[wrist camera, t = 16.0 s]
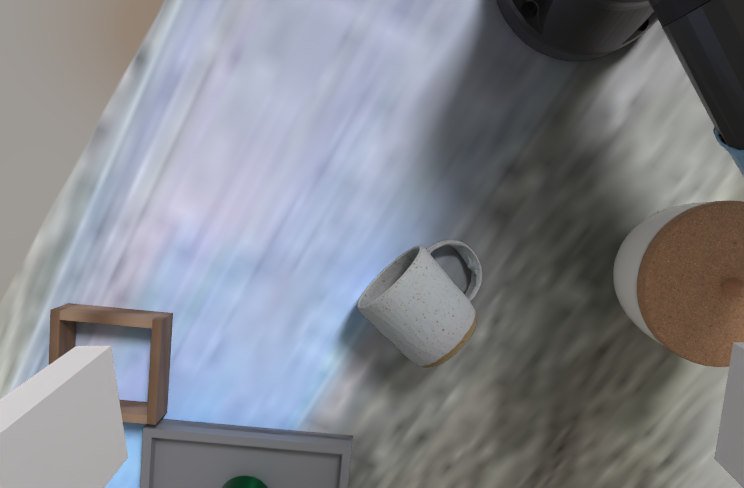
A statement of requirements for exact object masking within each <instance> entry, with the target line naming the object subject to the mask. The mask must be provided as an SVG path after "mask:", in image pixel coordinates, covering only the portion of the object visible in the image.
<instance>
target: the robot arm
mask: <svg viewBox="0 0 744 488" xmlns="http://www.w3.org/2000/svg"><path fill="white" fill-rule="evenodd" d="M497 1H498V4H499V7H500V9H501V12H502V14H503V16H504V18H505V19H506V21H507V23H508V24H509V26H510V27H511V28H512V30H513V31H514V32H515V33H516V34H517V35H518V36H519V37H520V38H521V39H522V40H523V41H524V42H525V43H526V44H528V45H529V46H531V47H532V48H534V49H535V50H537V51H539V52H541V53H543V54H545V55H548V56H550V57H554V58H557V59H562V60H570V61H583V60H591V59H596V58H600V57H603V56H606V55H608V54H611V53H613V52H615V51H617V50H619V49H620V48H622V47H624V46H626V45H627V44H629V43H631V42H633V41H634V40H636V39H637V38H638V37H640V36H641V35H642V34H644V33H645V32H646V31H647V30H648V29H649V28H650V27H651V26H652V25H653V24H654V23H655V22H656V21H657V20H659V21H660V23H661V25H662V26H663V27H662V28H663V30H664V32H665V34H666V36H667V38H668V40H669V42H670V43H671V45H672V47H673V49H674V51H675V53H676V55H677V57H678V58H679V60H680V62H681V64H682V66H683V68H684V70H685V72H686V74H687V75H688V77H689V79H690V81H691V83H692V85H693V87H694V89H695V90H696V92H697V94H698V96H699V98H700V100H701V102H702V104H703V105H704V107H705V109H706V111H707V113H708V115H709V117H710V119H711V120H712V122H713V124H714V126H715V127H714V130H713V131H714V134H715V137H716V139H717V141H718V142H719V144H720V145H721V146H723V147H724V148H725V149H726V150H727V151H728V152H729V153H730V155H731V157H732V158H733V160H734V162H735V163H736V165H737V167H738V168H739V170H740V171H741V173H742V175H743V176H744V0H497ZM127 458H128V454H127V447H126V441H125V434H124V428H123V421H122V415H121V408H120V402H119V395H118V388H117V382H116V375H115V369H114V362H113V356H112V349H111V346H76V347H74V348H73V349H71V350H70V351H68V352H67V353H66V354H64V355H63V356H61V357H60V358H58V359H57V360H56V361H54V362H53V363H51V364H50V365H48V366H47V367H46V368H44V369H43V370H41V371H40V372H38V373H37V374H36V375H34V376H33V377H31V378H30V379H29V380H27V381H26V382H24V383H23V384H21V385H20V386H19V387H17V388H16V389H14V390H13V391H11V392H10V393H9V394H7V395H6V396H4V397H3V398H1V399H0V488H104V487H105V486H106V485H107V484H108V482H109V481H110V480H111V478H112V477H113V476H114V475H115V473H116V472H117V471H118V470H119V468H120V467H121V466H122V464H123V463H124V462H125V461H126V459H127ZM714 459H715V460H716V461H717V462H718V463H719V464H720V465H721V466H722V467H723V468H724V469H725V470H726V471H727V472H728V473H729V474H730V475H731V476H732V477H733V478H734V479H735V480H736V481H737V482H738V483H739V484H740V485H741V486H742V487H743V488H744V342H738V343H733V347H732V353H731V360H730V366H729V372H728V378H727V384H726V390H725V397H724V403H723V409H722V415H721V421H720V427H719V434H718V440H717V446H716V452H715V458H714Z"/></svg>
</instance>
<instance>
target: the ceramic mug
mask: <svg viewBox="0 0 744 488" xmlns="http://www.w3.org/2000/svg"><path fill="white" fill-rule="evenodd" d="M445 245H448V246H451V247H453V248H455V249H456V250H457V251H458V253H459V254H460V255H461V257H462V258H463V259H464V261H465V262H466V264H467V268H469V269H470V270H471V283H470V285H469V287H468V290H467V291H466V293H465V295H464V293H463V292H462V291H461V290H460V289H459V288H458V287H457V286H456V285H455V284H454V283H453V281H452V280H451V279H450V278H449V277H448V275H447V274H446V273H445V272H444V270H443V269H442V268H441V267H440V266H439V264H438V263H437V262H436V261H435V260H434V259H433V257H432V256H431V253H432V251H434V250H435V249H438V248H440V247H442V246H445ZM481 283H482V268H481V264H480V261H479V259H478V257H477V255H476V254H475V253H474V251H473V250H472V249H471V248H470V247H469V246H468V245H467V244H465V243H464V242H461V241H458V240H445V241H441V242H438V243H435V244H433V245H431V246H429V247H428V248H426V249H425V248H424V247H423V246H416V247H413V248H412V249H410V250H408V251H406V252H405V253H403V254H402V255H400V256H399V257H398V258H397V259H396V260H394V261H393V262H392V263H391V264H389V265H388V266H387V267H386V268H385V269H384V270H383V271H382V272H381V273H380V274H379V275H378V276H377V277H376V278H375V279H374V280H373V281H372V282H371V284H370V285H369V286H368V287H367V288H366V290H365V291H364V292H363V293H362V295H361V297H360V299H359V301H358V304H357V309H358V310H359V312H360V313H361V314H362V315H363V316H364V317H366V318H367V319H368V320H369V321H370V322H371V323H372V324H373V325H374V326H375V327H376V328H377V329H378V330H379V331H380V332H381V333H382V334H383V335H384V336H385V337H386V338H387V339H389V340H390V341H391V342H392V343H393V344H394V345H395V346H396V347H397V348H398V349H399V350H400V351H401V352H402V353H403V354H404V355H405V356H406V357H407V358H409V359H410V360H411V361H413V362H414V363H416V364H417V365H419V366H421V367H433V366H437V365H439V364H442V363H444V362H445V361H447V360H448V359H450V358H451V357H453V356H454V355H455V354H456V353H457V352H458V351H459V350H460V349H461V348H462V347H463V346H464V345H465V343H466V342H467V341H468V340H469V339H470V337H471V335H472V334H473V332H474V330H475V326H476V322H477V314H476V312H475V310H474V308H473V306H472V304H471V303H470V301H471V300H472V299H473V298H474V297H475V296H476V294H477V292H478V290H479V288H480V285H481Z"/></svg>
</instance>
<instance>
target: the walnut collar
mask: <svg viewBox="0 0 744 488" xmlns="http://www.w3.org/2000/svg"><path fill="white" fill-rule="evenodd" d="M172 319H173V313H164V312H154V311H143V310H132V309H122V308H111V307H101V306H90V305H80V304H69V303H68V304H65V305H62V306H60V307H57V308H55V309H52V310H51V315H50V346H49V365H50V364H51V363H53V362H54V361H56V360H57V359H58V358H60V357H61V356H63V355H64V354H66V353H67V352H68V351H70V350H71V349H73V348H74V347H75V339H76V321H78V322H89V323H99V324H110V325H121V326H131V327H142V328H152V336H151V354H150V372H149V391H148V402H138V401H127V400H119V402H120V408H121V415H122V421H123V422H130V423H141V424H152V425H156V424H157V423H158V422H159V421H160V419H161V418H162V417H163V416H164V415H165V414H166V413H167V403H168V386H169V369H170V352H171V335H172Z"/></svg>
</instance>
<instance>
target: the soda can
mask: <svg viewBox="0 0 744 488" xmlns="http://www.w3.org/2000/svg"><path fill="white" fill-rule="evenodd" d="M222 488H268V487H267V486H266V485H265V484H264V483H263V482H262V481H261V480H259V479H257V478H255V477H252V476H237V477H234V478H232V479H230V480H228V481H227V482H226V483H225V484H224V485H223V486H222Z"/></svg>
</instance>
